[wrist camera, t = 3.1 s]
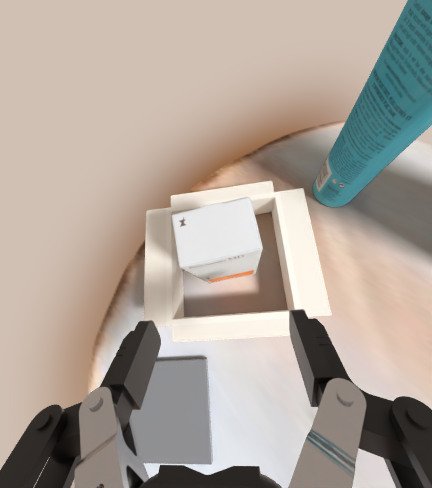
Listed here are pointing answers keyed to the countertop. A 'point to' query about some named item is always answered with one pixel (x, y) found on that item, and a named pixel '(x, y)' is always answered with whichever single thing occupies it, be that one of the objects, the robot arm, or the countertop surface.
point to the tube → (384, 110)
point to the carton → (290, 255)
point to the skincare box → (218, 240)
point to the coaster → (175, 414)
